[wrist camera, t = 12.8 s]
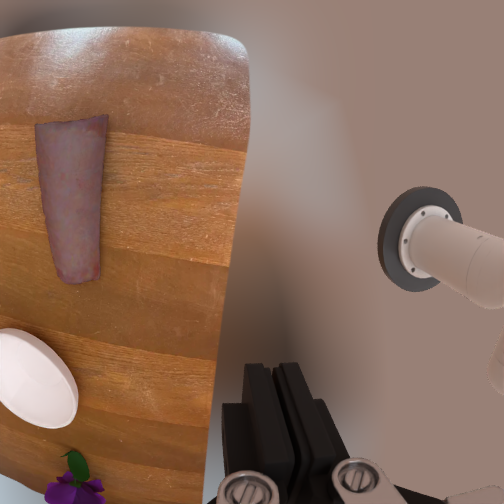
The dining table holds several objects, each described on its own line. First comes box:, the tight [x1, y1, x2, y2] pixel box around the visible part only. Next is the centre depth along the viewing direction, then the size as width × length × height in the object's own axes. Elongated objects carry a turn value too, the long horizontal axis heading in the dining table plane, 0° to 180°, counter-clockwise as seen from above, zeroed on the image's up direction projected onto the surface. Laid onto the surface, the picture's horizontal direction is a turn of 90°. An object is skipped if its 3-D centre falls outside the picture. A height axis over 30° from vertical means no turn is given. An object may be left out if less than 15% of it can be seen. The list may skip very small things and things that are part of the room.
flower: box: [45, 451, 106, 504], centre depth 47 cm, size 15×15×14 cm
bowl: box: [0, 328, 78, 428], centre depth 41 cm, size 20×20×7 cm
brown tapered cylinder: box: [35, 115, 108, 285], centre depth 34 cm, size 21×9×9 cm, turn 1°
